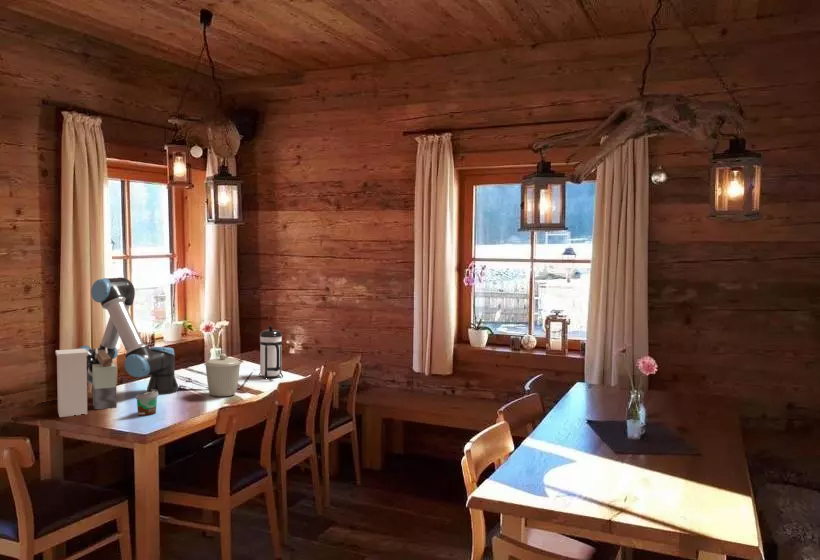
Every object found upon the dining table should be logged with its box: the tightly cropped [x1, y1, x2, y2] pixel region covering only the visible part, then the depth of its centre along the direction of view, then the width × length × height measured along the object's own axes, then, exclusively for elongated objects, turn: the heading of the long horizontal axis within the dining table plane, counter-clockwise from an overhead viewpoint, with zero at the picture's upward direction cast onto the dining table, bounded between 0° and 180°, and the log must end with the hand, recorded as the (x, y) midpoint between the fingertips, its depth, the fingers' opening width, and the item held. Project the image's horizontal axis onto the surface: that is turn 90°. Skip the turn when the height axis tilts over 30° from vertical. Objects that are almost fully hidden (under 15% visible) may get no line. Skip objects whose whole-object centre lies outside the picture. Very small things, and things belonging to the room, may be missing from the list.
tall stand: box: [55, 348, 88, 418], centre depth 299 cm, size 12×12×28 cm
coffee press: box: [258, 325, 284, 380], centre depth 383 cm, size 17×16×30 cm
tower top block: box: [92, 362, 117, 389], centre depth 311 cm, size 9×10×10 cm
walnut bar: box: [97, 350, 113, 367], centre depth 313 cm, size 4×28×4 cm, turn 32°
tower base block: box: [92, 385, 118, 410], centre depth 312 cm, size 9×10×10 cm
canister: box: [204, 353, 242, 398], centre depth 338 cm, size 18×18×21 cm
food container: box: [135, 389, 160, 417], centre depth 300 cm, size 12×6×10 cm, turn 168°
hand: (101, 350), depth 318 cm, fingers closed on walnut bar, 3 cm apart
